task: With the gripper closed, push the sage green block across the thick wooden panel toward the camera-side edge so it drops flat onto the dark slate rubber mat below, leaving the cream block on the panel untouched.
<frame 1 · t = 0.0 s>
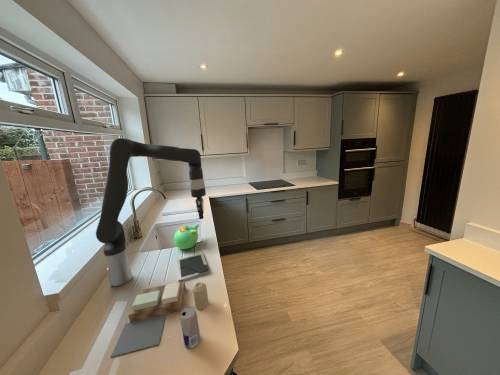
hand: (201, 216, 108), 29 cm above the table, fingers open, 8 cm apart
candle: (202, 305, 85), on the table
cream block: (171, 294, 86), point 4 cm above the table, touching thick wooden panel
thick wooden panel: (160, 303, 87), on the table
picture frame: (192, 268, 113), on the table
mat: (141, 333, 73), on the table
energy drink: (192, 341, 69), on the table
toy bird: (188, 246, 137), on the table
sage green block: (147, 302, 83), point 4 cm above the table, touching thick wooden panel
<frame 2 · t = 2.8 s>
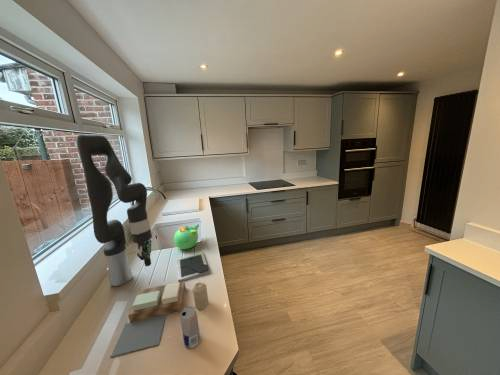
hand: (148, 265, 89), 16 cm above the table, fingers closed
nothing on the table moved.
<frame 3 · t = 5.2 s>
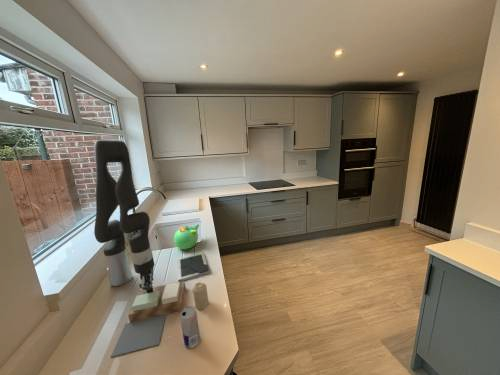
hand: (150, 293, 87), 5 cm above the table, fingers closed
sage green block: (147, 303, 83), point 4 cm above the table, touching thick wooden panel, gripper
everything else where it was.
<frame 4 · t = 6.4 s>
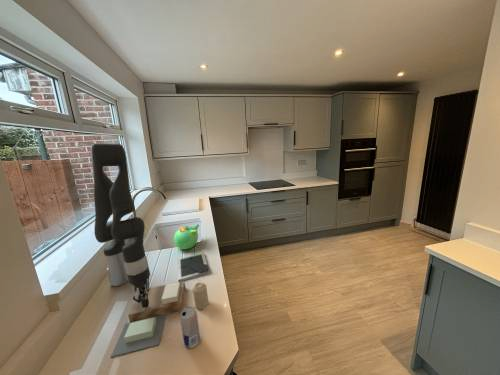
hand: (145, 306, 80), 5 cm above the table, fingers closed
sage green block: (140, 326, 73), point 3 cm above the table, tilted 180°, touching mat
everything else where it was.
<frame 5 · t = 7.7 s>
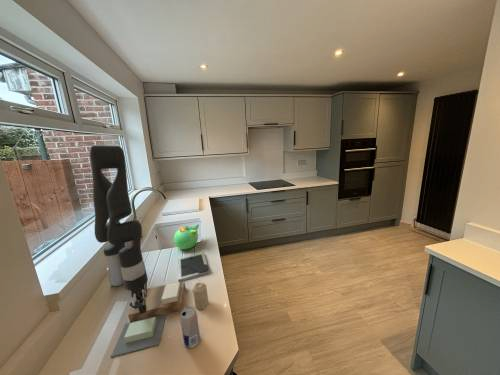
hand: (143, 311, 78), 5 cm above the table, fingers closed
nothing on the table moved.
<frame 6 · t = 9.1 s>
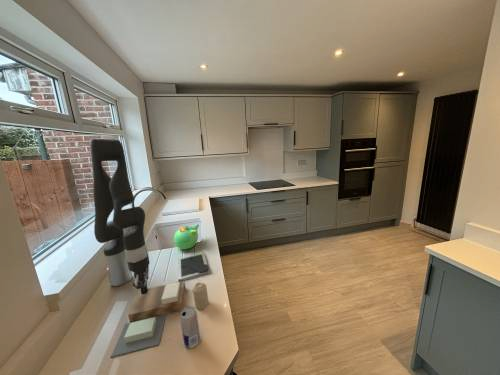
hand: (144, 292, 83), 8 cm above the table, fingers closed
nothing on the table moved.
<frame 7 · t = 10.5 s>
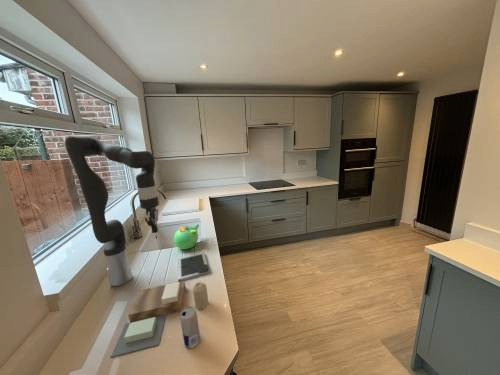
hand: (155, 232, 92), 29 cm above the table, fingers closed
nothing on the table moved.
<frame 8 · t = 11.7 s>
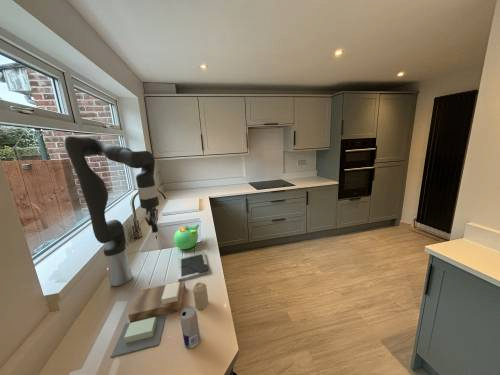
hand: (155, 231, 92), 29 cm above the table, fingers closed
nothing on the table moved.
at the end: sage green block point 2.8 cm above the table; sage green block inside the target area on the mat (0.4 cm from its centre), point 2.8 cm above the mat's base; cream block moved 0.0 cm from its start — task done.
